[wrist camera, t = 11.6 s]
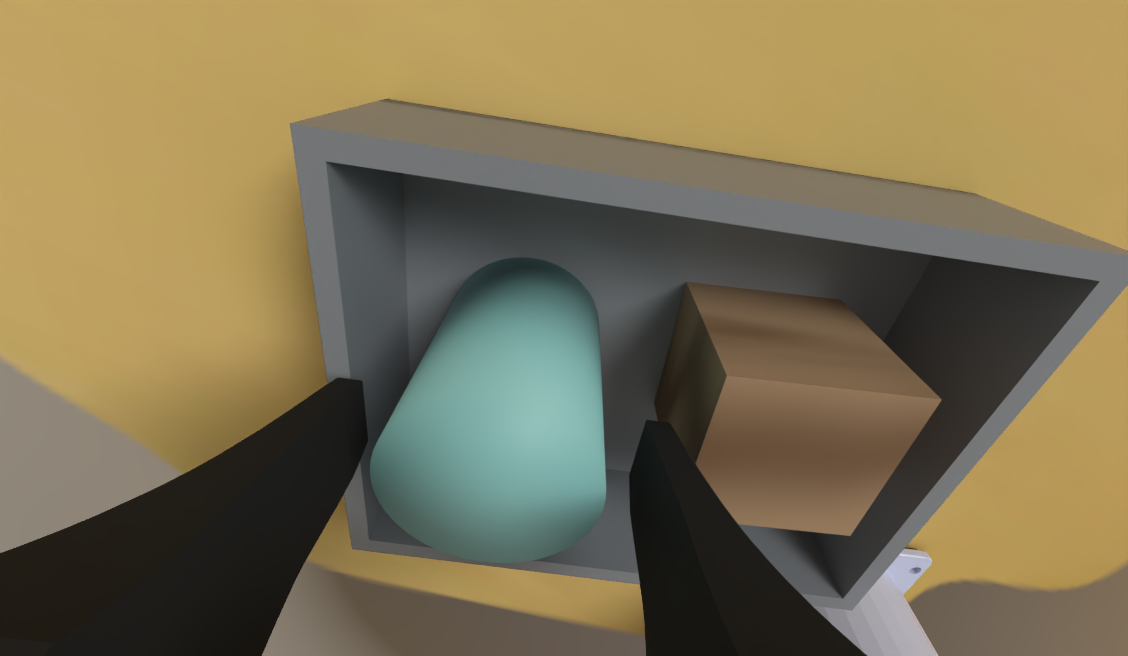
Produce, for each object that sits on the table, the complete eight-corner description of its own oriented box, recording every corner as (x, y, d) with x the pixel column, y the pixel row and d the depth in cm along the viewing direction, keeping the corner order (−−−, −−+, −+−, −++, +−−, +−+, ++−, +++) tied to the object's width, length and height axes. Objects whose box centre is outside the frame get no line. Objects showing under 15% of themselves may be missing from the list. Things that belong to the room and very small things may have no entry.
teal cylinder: (583, 395, 17) (580, 576, 11) (448, 372, 17) (372, 545, 11) (614, 273, 15) (632, 422, 9) (457, 243, 15) (365, 377, 9)
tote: (796, 493, 21) (852, 610, 16) (402, 440, 20) (352, 549, 16) (974, 193, 14) (1149, 258, 10) (386, 98, 13) (289, 123, 9)
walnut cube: (785, 417, 18) (850, 536, 13) (654, 402, 18) (676, 517, 13) (840, 299, 15) (941, 399, 11) (686, 281, 15) (727, 375, 11)
